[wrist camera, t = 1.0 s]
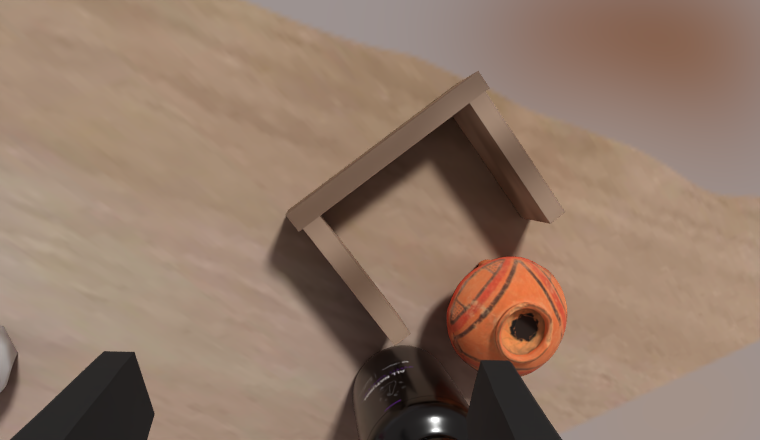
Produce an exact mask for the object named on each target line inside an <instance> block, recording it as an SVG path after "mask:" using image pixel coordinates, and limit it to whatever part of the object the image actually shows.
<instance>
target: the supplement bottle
mask: <svg viewBox="0 0 760 440" xmlns="http://www.w3.org/2000/svg"><path fill="white" fill-rule="evenodd" d="M353 406H354V413H355V419H356V424H357V430H358V436H359V440H468V432H467V423H466V417H467V413H468V409H469V405H468V404H467V402H466V401H465V399H464V397H463V396H462V394H461V393H460V391H459V390H458V388H457V387H456V385H455V384H454V382H453V381H452V379H451V378H450V376H449V375H448V373H447V372H446V370H445V369H444V367H443V366H442V365H441V363H440V362H439V361H438V360H437V359H436V358H435V357H434V356H433V355H432V354H430V353H429V352H427V351H425V350H423V349H421V348H418V347H414V346H407V345H401V346H394V347H390V348H387V349H384V350H382V351H380V352H378V353H377V354H375V355H374V356H372V357H371V358H370V359H369V360H368V361H367V362H366V363H365V364H364V365H363V367H362V368H361V370H360V371H359V373H358V375H357V377H356V380H355V383H354V388H353Z"/></svg>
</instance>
